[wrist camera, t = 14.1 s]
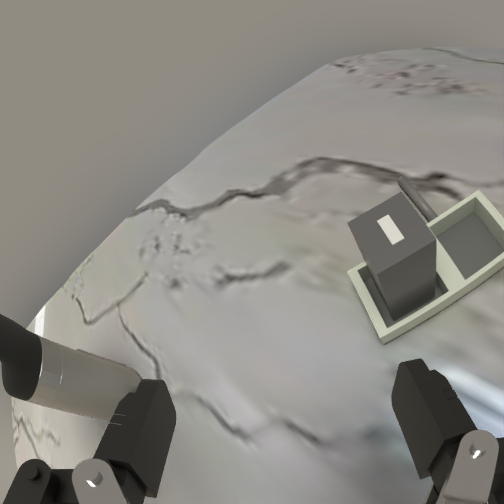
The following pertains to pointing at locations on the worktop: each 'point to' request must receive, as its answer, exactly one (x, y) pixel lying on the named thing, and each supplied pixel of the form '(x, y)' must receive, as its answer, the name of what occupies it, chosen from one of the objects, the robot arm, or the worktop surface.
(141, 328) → the worktop surface
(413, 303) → the block
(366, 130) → the worktop surface
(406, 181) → the two-compartment tray
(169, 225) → the worktop surface
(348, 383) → the worktop surface
